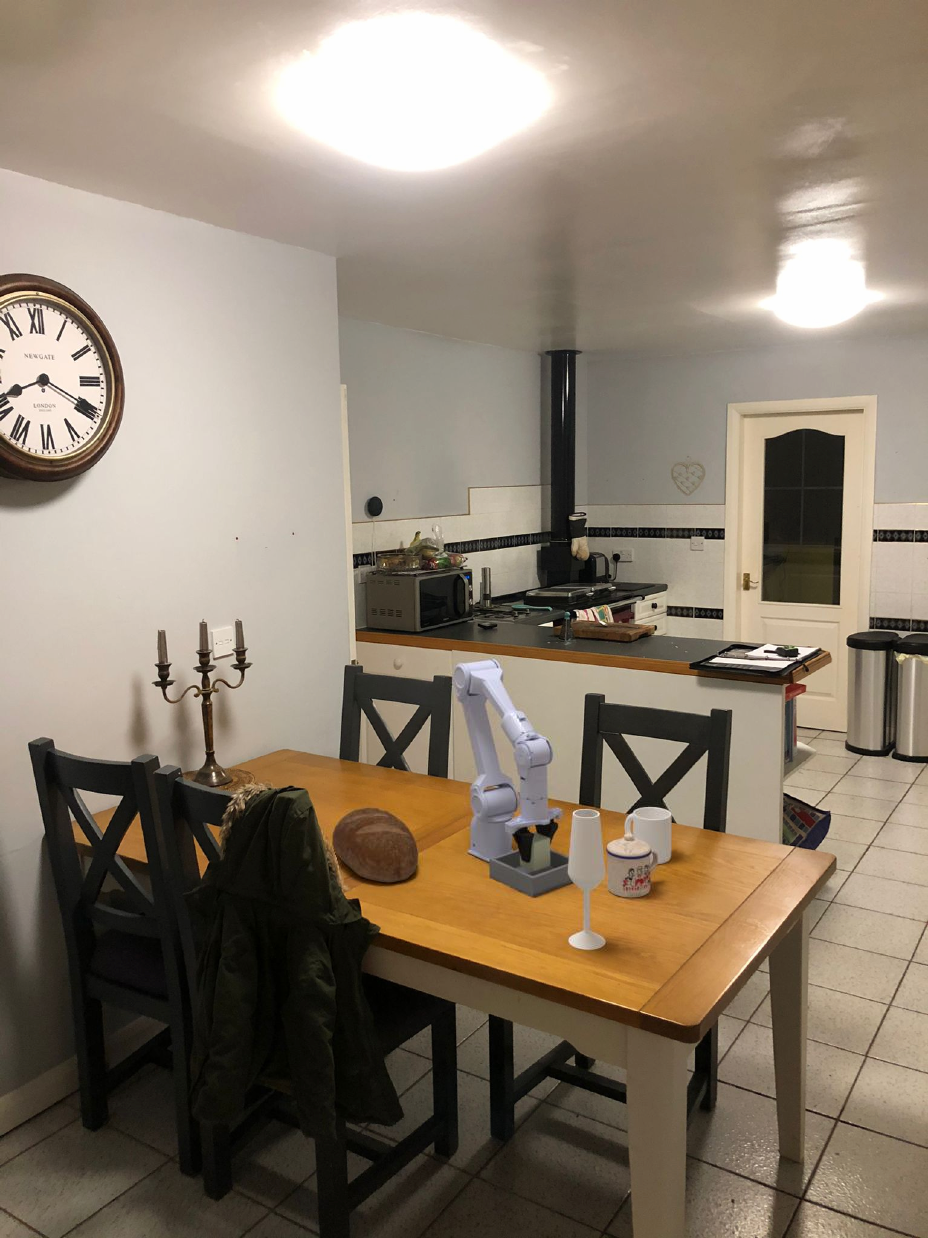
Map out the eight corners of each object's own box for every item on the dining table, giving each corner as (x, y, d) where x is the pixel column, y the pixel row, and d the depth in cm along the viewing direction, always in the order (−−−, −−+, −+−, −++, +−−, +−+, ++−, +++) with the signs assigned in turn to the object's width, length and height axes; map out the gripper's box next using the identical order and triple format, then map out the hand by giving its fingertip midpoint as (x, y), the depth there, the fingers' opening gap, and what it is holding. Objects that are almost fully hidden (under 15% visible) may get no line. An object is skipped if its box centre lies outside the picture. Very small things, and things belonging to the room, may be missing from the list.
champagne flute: (602, 932, 176) (601, 806, 173) (608, 949, 169) (608, 819, 166) (565, 933, 176) (564, 808, 173) (571, 950, 169) (570, 820, 166)
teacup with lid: (625, 902, 188) (625, 846, 187) (597, 886, 196) (597, 832, 195) (671, 889, 194) (672, 834, 193) (642, 874, 202) (642, 821, 200)
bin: (489, 877, 202) (489, 859, 202) (536, 860, 210) (536, 843, 210) (532, 897, 192) (532, 878, 191) (580, 879, 200) (580, 861, 199)
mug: (613, 852, 214) (612, 808, 213) (638, 843, 219) (638, 800, 218) (653, 868, 205) (653, 822, 204) (679, 858, 210) (679, 813, 208)
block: (520, 864, 201) (519, 837, 200) (535, 859, 204) (535, 832, 203) (534, 871, 197) (534, 843, 197) (550, 865, 200) (549, 838, 199)
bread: (365, 893, 196) (363, 839, 195) (320, 847, 222) (318, 800, 221) (434, 877, 203) (432, 826, 202) (382, 835, 229) (380, 789, 228)
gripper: (520, 808, 191) (521, 873, 193) (572, 793, 200) (572, 855, 202) (497, 800, 197) (498, 862, 198) (549, 785, 205) (549, 845, 207)
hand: (534, 858), depth 200 cm, fingers closed on block, 4 cm apart
